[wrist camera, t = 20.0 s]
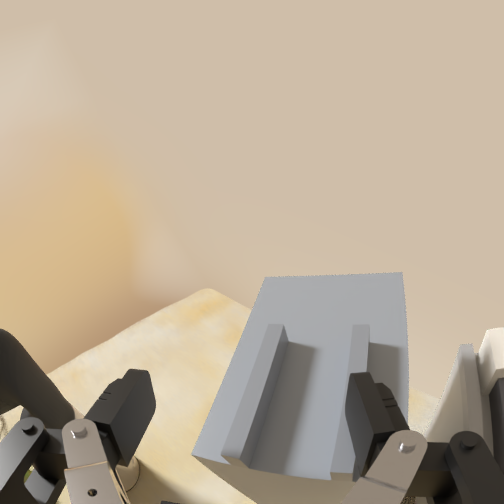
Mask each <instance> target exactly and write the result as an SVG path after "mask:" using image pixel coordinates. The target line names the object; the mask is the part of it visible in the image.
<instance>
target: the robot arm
mask: <svg viewBox="0 0 504 504" xmlns="http://www.w3.org/2000/svg"><path fill="white" fill-rule="evenodd" d="M19 405H21V406H23V407H24V408H23V411H22V413H21V418H20V421H18V422H17V423H16V424H15V426H14V427H13V428H12V429H11V430H10V432H9V433H8V434H7V435H6V436H5V438H4V439H3V440H2V441H1V442H0V504H55V503H56V502H57V500H58V498H59V496H60V494H61V492H62V490H63V488H64V486H65V485H66V483H67V488H68V492H69V496H70V500H71V504H131V503H130V501H129V499H128V497H127V494H126V491H128V490H130V489H131V488H132V487H133V486H134V485H135V483H136V481H137V480H138V476H139V464H138V461H137V459H136V458H135V456H134V453H135V451H136V449H137V447H138V445H139V443H140V441H141V439H142V437H143V435H144V433H145V431H146V429H147V427H148V425H149V423H150V421H151V419H152V417H153V415H154V412H155V408H156V400H155V396H154V392H153V387H152V383H151V378H150V374H149V372H148V371H147V370H138V369H129V370H128V371H127V373H126V374H125V375H124V377H123V378H122V379H117V380H115V381H114V382H112V383H111V384H109V385H108V386H107V388H106V389H105V390H104V392H103V393H102V394H101V396H100V397H99V400H97V401H96V402H95V404H94V405H93V406H92V408H91V409H90V410H89V412H88V413H87V414H86V416H83V415H82V414H81V413H80V412H79V411H78V410H77V409H75V408H74V407H73V406H72V405H71V404H70V403H69V402H68V401H67V400H66V399H65V398H64V397H63V396H62V394H61V393H60V391H59V390H58V389H57V387H56V386H55V385H54V383H53V382H52V381H51V380H50V379H49V378H48V377H47V375H46V374H45V373H44V372H43V371H42V370H41V369H40V367H39V366H38V365H37V364H36V363H35V361H34V360H33V359H32V358H31V356H30V355H29V354H28V352H27V351H26V350H25V349H24V347H23V346H22V345H21V344H20V343H19V341H18V340H17V339H16V338H15V337H14V336H12V335H11V334H10V333H9V332H7V331H5V330H3V329H0V415H1V414H3V413H6V412H7V411H9V410H11V409H13V408H15V407H17V406H19ZM345 417H346V421H347V425H348V428H349V432H350V436H351V440H352V444H353V448H354V452H355V456H356V460H357V465H358V469H359V473H360V478H359V479H358V481H357V482H356V483H355V485H354V486H353V488H352V489H351V490H350V492H349V493H348V494H347V496H346V497H345V498H344V500H343V501H342V502H341V503H340V504H400V503H401V502H402V500H403V498H404V496H405V497H426V500H427V504H504V475H503V474H502V472H501V470H500V468H499V466H498V464H497V462H496V460H495V459H494V457H493V455H492V453H491V451H490V450H489V448H488V446H487V444H486V442H485V441H484V439H483V438H482V437H481V436H480V435H479V434H477V433H475V432H472V431H461V432H458V433H456V434H455V435H453V436H452V438H451V439H450V442H449V443H446V442H427V440H426V439H425V437H424V436H423V435H422V434H420V433H418V432H416V431H412V430H410V429H409V426H408V424H407V422H406V420H405V418H404V416H403V414H402V412H401V410H400V408H399V406H398V403H397V401H396V399H395V397H394V395H393V393H392V391H391V389H390V388H388V387H387V386H386V385H385V384H383V383H382V382H381V383H374V380H373V378H372V376H371V374H370V372H358V373H351V374H350V376H349V382H348V388H347V395H346V401H345ZM31 465H33V467H34V470H33V471H32V473H31V474H30V476H29V478H28V479H27V481H26V482H25V484H24V476H25V474H26V473H27V471H28V470H29V468H30V467H31ZM161 504H178V503H172V502H167V501H162V502H161Z"/></svg>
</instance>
